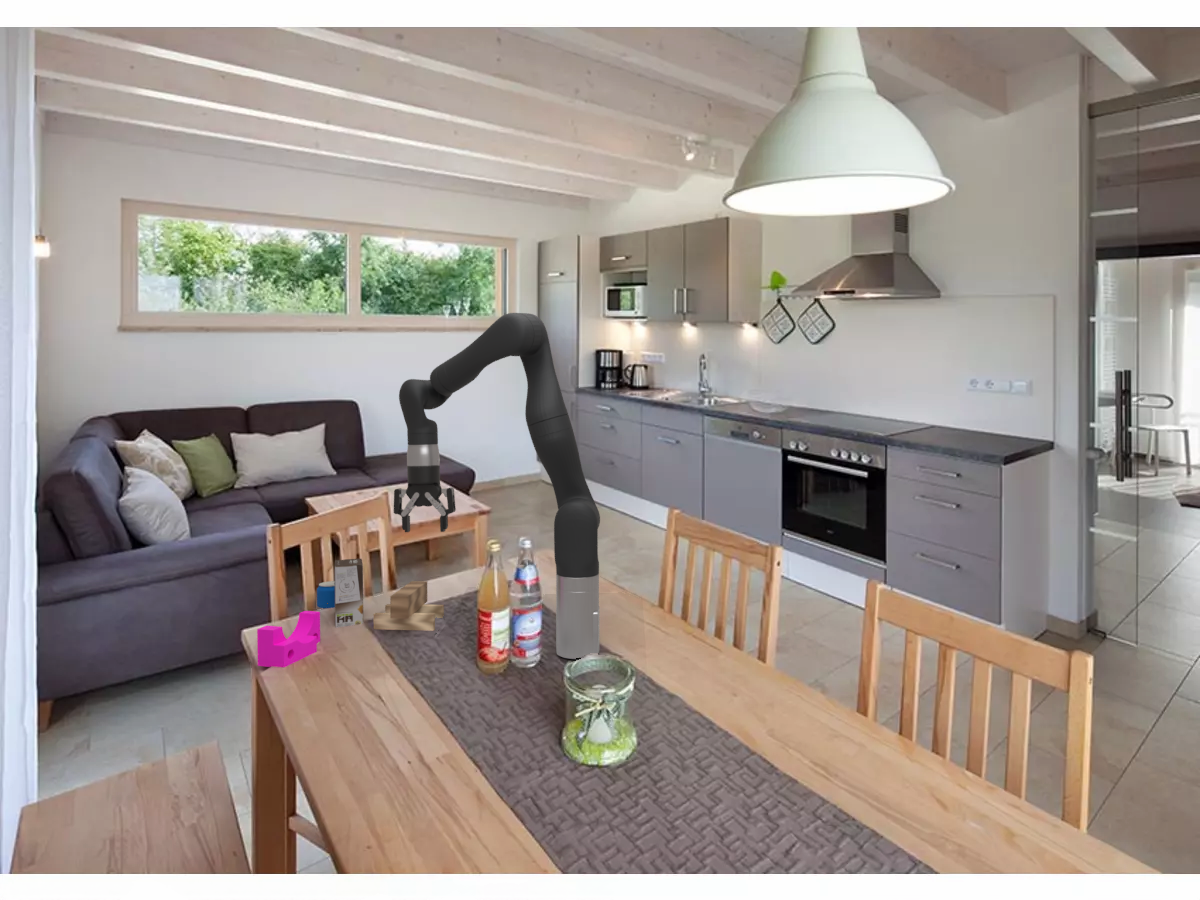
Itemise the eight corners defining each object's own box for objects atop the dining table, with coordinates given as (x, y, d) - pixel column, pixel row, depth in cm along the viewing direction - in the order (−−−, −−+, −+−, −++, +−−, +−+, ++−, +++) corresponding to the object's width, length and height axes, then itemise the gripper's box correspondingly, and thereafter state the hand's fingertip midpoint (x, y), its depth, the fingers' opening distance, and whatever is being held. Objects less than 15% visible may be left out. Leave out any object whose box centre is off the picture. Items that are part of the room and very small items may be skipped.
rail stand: (449, 623, 174) (449, 602, 173) (435, 638, 161) (435, 616, 160) (385, 622, 174) (385, 602, 174) (366, 637, 161) (366, 616, 161)
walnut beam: (407, 618, 159) (407, 596, 159) (390, 618, 159) (390, 596, 159) (427, 601, 175) (427, 581, 175) (411, 601, 175) (411, 581, 175)
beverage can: (348, 627, 181) (347, 580, 181) (339, 634, 174) (339, 586, 174) (322, 627, 181) (322, 580, 181) (313, 634, 174) (312, 586, 174)
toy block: (284, 668, 141) (283, 631, 141) (257, 665, 143) (257, 629, 142) (330, 646, 156) (329, 612, 155) (305, 643, 157) (305, 610, 157)
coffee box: (363, 632, 166) (363, 564, 165) (334, 635, 163) (334, 566, 163) (362, 622, 174) (362, 557, 174) (335, 624, 172) (334, 559, 172)
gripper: (388, 465, 163) (390, 534, 164) (449, 463, 163) (451, 533, 163) (398, 463, 171) (400, 530, 171) (456, 462, 171) (458, 529, 171)
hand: (425, 531), depth 167 cm, fingers open, 8 cm apart
